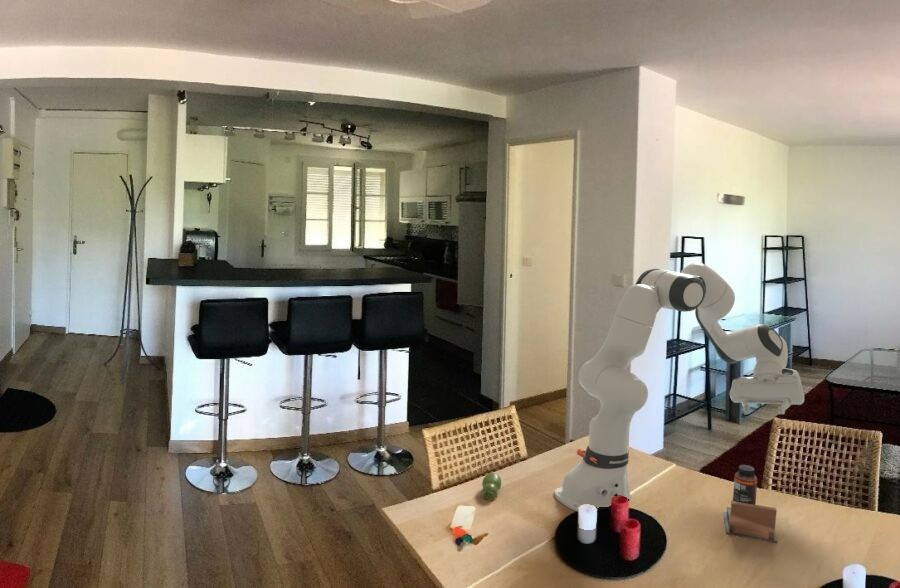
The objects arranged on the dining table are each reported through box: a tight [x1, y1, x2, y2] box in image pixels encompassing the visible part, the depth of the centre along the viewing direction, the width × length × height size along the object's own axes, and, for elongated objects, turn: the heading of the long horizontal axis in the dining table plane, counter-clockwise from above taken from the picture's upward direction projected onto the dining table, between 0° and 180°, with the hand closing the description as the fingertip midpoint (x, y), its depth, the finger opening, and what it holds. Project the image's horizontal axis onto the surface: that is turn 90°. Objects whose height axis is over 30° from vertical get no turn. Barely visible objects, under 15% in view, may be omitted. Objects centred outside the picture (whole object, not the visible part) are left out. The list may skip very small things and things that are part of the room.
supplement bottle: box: [732, 464, 758, 505], centre depth 177 cm, size 6×6×11 cm
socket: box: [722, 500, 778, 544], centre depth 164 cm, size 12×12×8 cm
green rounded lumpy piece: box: [481, 472, 502, 500], centre depth 182 cm, size 6×5×10 cm
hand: (763, 412), depth 183 cm, fingers open, 8 cm apart
